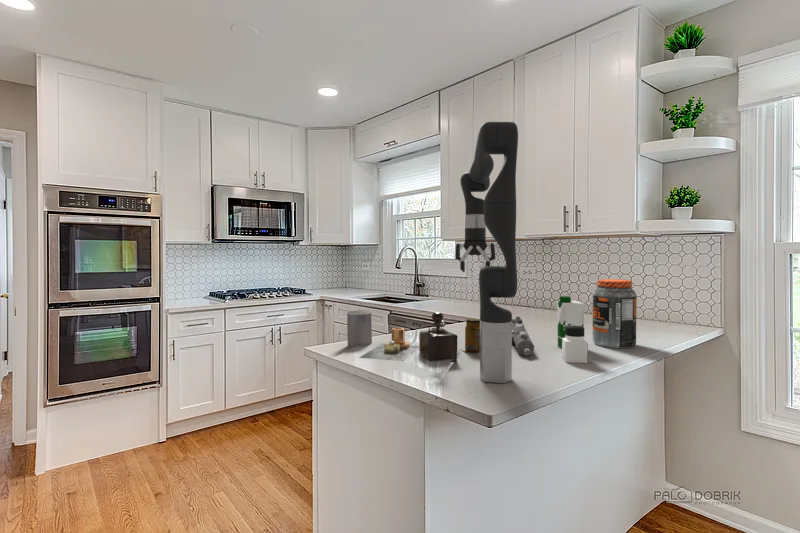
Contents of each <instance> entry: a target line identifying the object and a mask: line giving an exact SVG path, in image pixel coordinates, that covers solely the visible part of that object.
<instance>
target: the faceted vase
mask: <svg viewBox="0 0 800 533" xmlns="http://www.w3.org/2000/svg"><path fill="white" fill-rule="evenodd" d="M405 332H406V329H405V328H404V327H392V328H391V341H394V342H395V343H398V344H400V349H407V348H408V347H410V345H411V344H410V343H411V342H409V341H406V338H405V337H406V333H405ZM389 342H390V341H388V342H387V343H389Z"/></svg>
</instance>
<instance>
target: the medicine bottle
mask: <svg viewBox="0 0 800 533" xmlns="http://www.w3.org/2000/svg"><path fill="white" fill-rule="evenodd" d="M565 337H566V338H562V349H561V358H562V360H563V361H564V362H565V363H567V364H570V363H572V364H588V363H589V343H588V341H587V340H586V339H585V327H582V326H579V325H568V326H566V327H565Z"/></svg>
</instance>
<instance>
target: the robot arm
mask: <svg viewBox="0 0 800 533" xmlns="http://www.w3.org/2000/svg"><path fill="white" fill-rule="evenodd" d="M518 147H519V128H518V126H517V124H516V123H515V122H514V121H486V122H483V123H482V124H481V126H480V128H479V130H478V133H477V138H476V145H475V150H474V158H473V162H472V163H471V167H470V169H469V172H464V173H463V174H462V175H461V177H460V188H461V190H462V194H463V198H464V202H465V203H464V204H465V216H464V217H465V220H464V243H456V244H455V256H454V259H455V260H456V261H459V262H460V267H459V268H460V271H461V272H462V273H465V271H466V261H465V260H466V259H467V258H468V257H469V255H470V256H482V257H483V258H484V259H485V260H486V261H485V266H482V267H481V268H480V270H479V273H478V284H479V285H478V286H479V287H478V289H479V320H480V354H479V379H481V380H482V381H483V382H485V383H498V384H506V383H508V382H511V381H512V379H513V363H512V362H513V360H512V359H513V353H512V352H513V345H512V319H513V314H512V311H511V310H509V309H507V308H504V307H501V306H498V305H497V304H495V303H494V302H493V301H492V299H491V298H496V299H497V298H504V299H505V298H507V299H509V298H510V299H511V298H514V297H516V295H517V292H518V269H517V267H518V266H517V249H516V248H517V247H516V244H517V243H516V237H517V236H516V235H517V233H516V232H517V176H516V175H517V162H518V161H517V160H518ZM491 155H503V162H502V167H501V169H500V171H499V173H498V175H497V176H496V179H495V180H494V182H493V183H492V184H491V181H490V180H491V179H490V176H491V174H492V173H493V170H494V166H495V163H494V159H493V157H492V156H491ZM487 190H488V191H487ZM486 191H487V192H486ZM482 192H483V193H484V192H486V195H485V196H484V198H479V197H475V196H474V195H473V194H472V193H482ZM486 228H487V229H486ZM486 230H488V232H489V233H490V234H491V237H492V238H493V239H494V240H495V242H496V243H497V245H498V247H499V249H500V251H501V253H502V255H503V257H504V261H505V266H504V265H503V266H501V265H496V266H495V265H491V262H493V261H494V260H495V259H496V247H495V246H496V245H495V243H493V242H491V243H487V242H486V241H487V240H486V239H487V238H486V236H487V234H486V233H487V231H486ZM487 247H488V250H490V257H489V255H488V254H487V253H486V251H485V250H486V249H487ZM463 248H464V250H465V252H464V253H463V254H462V256H461V250H463Z"/></svg>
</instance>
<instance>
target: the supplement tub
mask: <svg viewBox="0 0 800 533" xmlns="http://www.w3.org/2000/svg"><path fill="white" fill-rule="evenodd" d="M596 282H597V283H596V288H595V289H594V290H593V291H592V292H593V293H592V342H593V343H594V344H596V345H597V346H600V347H601V346H602V347H604V348H605V347H607V348H611V349H612V348H614V349H627V348H628V349H629V348H633V347H635V346H636V344H637V305H638V304H637V302H638V301H637V298H638V297H637V293H636V291H635V290H634V289H633V288H632V286H633V281H632V280H630V279H620V278H619V279H617V278H606V279H605V278H602V279H597V281H596Z"/></svg>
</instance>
